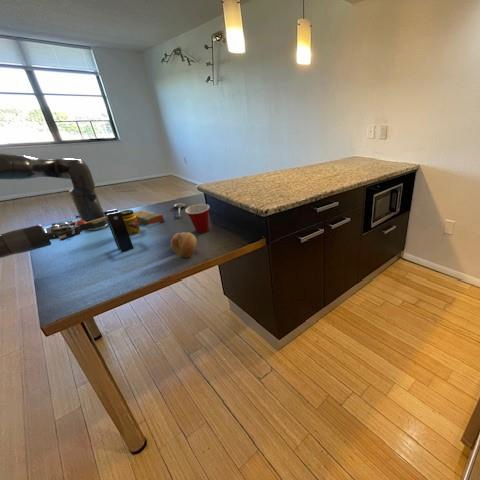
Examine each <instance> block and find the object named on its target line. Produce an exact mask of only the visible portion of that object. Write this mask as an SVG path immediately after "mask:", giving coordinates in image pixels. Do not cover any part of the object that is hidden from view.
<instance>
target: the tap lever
mask: <svg viewBox="0 0 480 480" xmlns="http://www.w3.org/2000/svg"><path fill="white" fill-rule="evenodd" d="M112 213H114V212H112ZM108 214H110V213H108ZM79 220H80V219H79ZM79 220H78V221H75V222H76V223H75V226H76V225H81V224H85V223H89V222H92V223H93V224H94V223H98V222H101V221H104V220H108V218H107V216H106V217H103V218H99V219H96V220H92V221H89V222H86V221H83V220H80V221H79Z"/></svg>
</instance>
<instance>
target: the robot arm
mask: <svg viewBox="0 0 480 480" xmlns="http://www.w3.org/2000/svg"><path fill="white" fill-rule="evenodd" d="M37 178H55V179H62V180H70V181H71V183H72V187H71V188H69V189H68V194H69V196H70V198H71V200H72V203H73V204H74V207H75V209H76V212H77V213H78V215H76V216H75V219H78V218H80V219H79V220H78V221H80V220H83V221H86V222H89V221H92V220H96V219H99V218H103V217H105V215H104V212H105V211H104V210H103V207H102V204H101V202H100V199H99V197H98V194H97V192H96V183H95V181H94V177H93V174H92V171H91V169H90V167H89V165H88V164H87V162H85V161H84V160H82V159H78V158H35V157H31V156H28V155H27V156H26V155H19V154H11V153H0V180H29V179H30V180H32V179H37ZM76 222H77V221H74V220H69V221H68V220H67V221H62V222H54V223H51V226H49V227H47V228H44V227H43V225H41V224H35V225H31V226H27V227H22V228H19V229H18V228H17V229H14V230H10V231H7V232H4V233H0V259H2V258H5V257H9V256H13V255H18V254H23V253H27V252H31V251H35V250H38V249H41V248H47V247H49V246H51V245H52V241H51V240H59V241H60V242H62V241H67V240H68V239H71V238H73V237H76V236H80V235H81V233H82V232H83V231H89V232H91V231H92V232H93V231H99V230H102V229H105V228H107V227H109V225H108V222H107V220H104V221H101V222H98V223H94V224H93V223H92V222H89V223H85V224H81V225H76V226H75V223H76Z"/></svg>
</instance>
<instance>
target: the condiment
mask: <svg viewBox="0 0 480 480" xmlns="http://www.w3.org/2000/svg"><path fill="white" fill-rule="evenodd" d="M120 212H121V215H122V217H123V220H124V223H125V225H126V228H127V231H128V234H129V236H135V235H138V234H140V233H141V232H142V230H141V227H140V224H138V221H137V218H136V216H135V215H134V212H135V211H134V210H133V209H125V210H122V211H120Z"/></svg>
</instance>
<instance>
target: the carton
mask: <svg viewBox="0 0 480 480" xmlns="http://www.w3.org/2000/svg"><path fill="white" fill-rule="evenodd" d="M133 212H134V215H135V216H136V218H137V221H138V224H139V225H141V226H149V225H151V224H152V225H153V224H156V223H160V224H162V223H164V222H165V219H164V216H163V214H161V213H156V212H153V211H149V210H146V209H141V210H137V211H133Z"/></svg>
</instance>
